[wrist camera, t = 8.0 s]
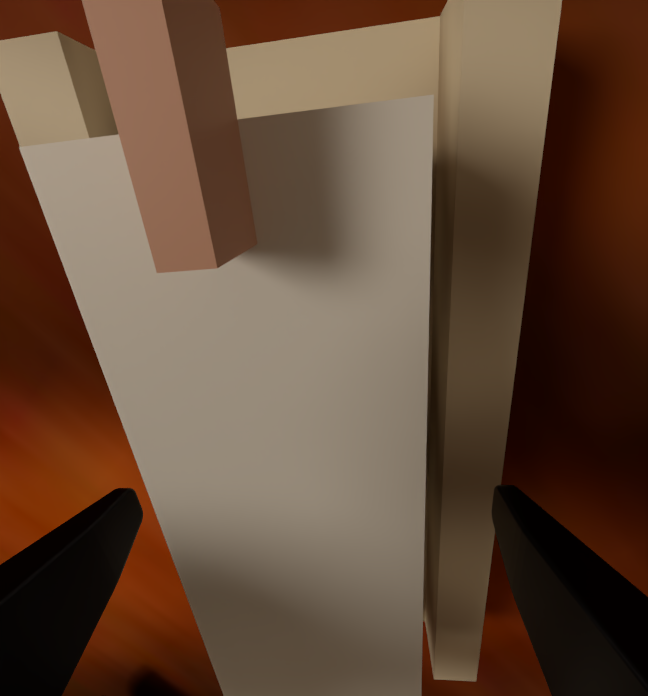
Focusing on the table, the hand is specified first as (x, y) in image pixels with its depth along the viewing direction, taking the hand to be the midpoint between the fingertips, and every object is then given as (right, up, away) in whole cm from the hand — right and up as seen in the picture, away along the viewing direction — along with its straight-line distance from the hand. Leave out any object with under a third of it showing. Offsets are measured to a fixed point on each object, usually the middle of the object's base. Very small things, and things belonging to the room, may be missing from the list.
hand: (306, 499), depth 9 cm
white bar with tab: (0, +2, +2) cm, 3 cm away
